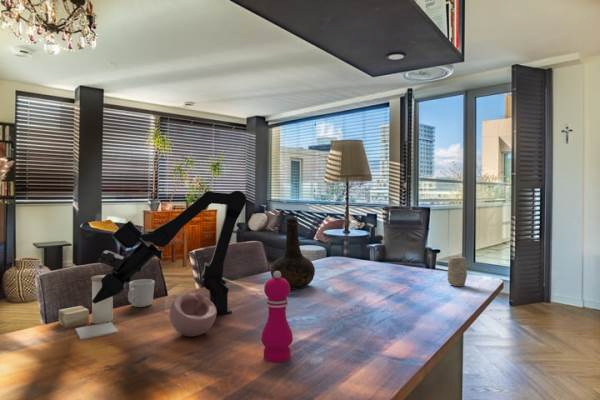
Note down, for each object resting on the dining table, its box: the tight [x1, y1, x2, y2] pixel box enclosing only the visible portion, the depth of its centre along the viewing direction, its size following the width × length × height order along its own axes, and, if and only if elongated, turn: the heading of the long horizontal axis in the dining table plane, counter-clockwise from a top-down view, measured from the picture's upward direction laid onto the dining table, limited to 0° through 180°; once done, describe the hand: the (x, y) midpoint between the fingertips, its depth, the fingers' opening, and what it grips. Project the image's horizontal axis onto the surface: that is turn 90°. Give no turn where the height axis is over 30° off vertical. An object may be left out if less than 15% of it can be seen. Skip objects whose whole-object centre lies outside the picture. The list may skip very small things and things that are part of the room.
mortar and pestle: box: [169, 292, 217, 337], centre depth 103 cm, size 12×12×12 cm
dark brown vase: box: [270, 217, 316, 290], centre depth 157 cm, size 18×18×28 cm
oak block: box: [58, 305, 90, 329], centre depth 112 cm, size 6×6×4 cm
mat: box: [75, 321, 119, 341], centre depth 106 cm, size 9×9×1 cm
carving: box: [447, 255, 468, 287], centre depth 160 cm, size 6×8×12 cm
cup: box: [127, 278, 156, 308], centre depth 129 cm, size 11×8×8 cm
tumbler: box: [90, 274, 114, 325], centre depth 114 cm, size 6×6×13 cm
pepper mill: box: [261, 271, 294, 363], centre depth 89 cm, size 7×7×20 cm
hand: (97, 298), depth 114 cm, fingers open, 9 cm apart
